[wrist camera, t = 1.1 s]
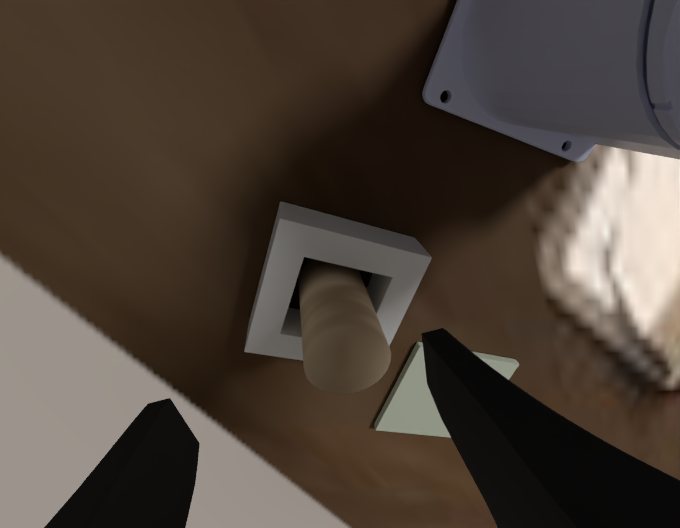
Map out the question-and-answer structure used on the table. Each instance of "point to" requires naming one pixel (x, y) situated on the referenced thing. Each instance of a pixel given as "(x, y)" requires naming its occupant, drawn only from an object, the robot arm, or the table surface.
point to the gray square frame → (338, 248)
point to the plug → (340, 330)
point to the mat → (423, 397)
